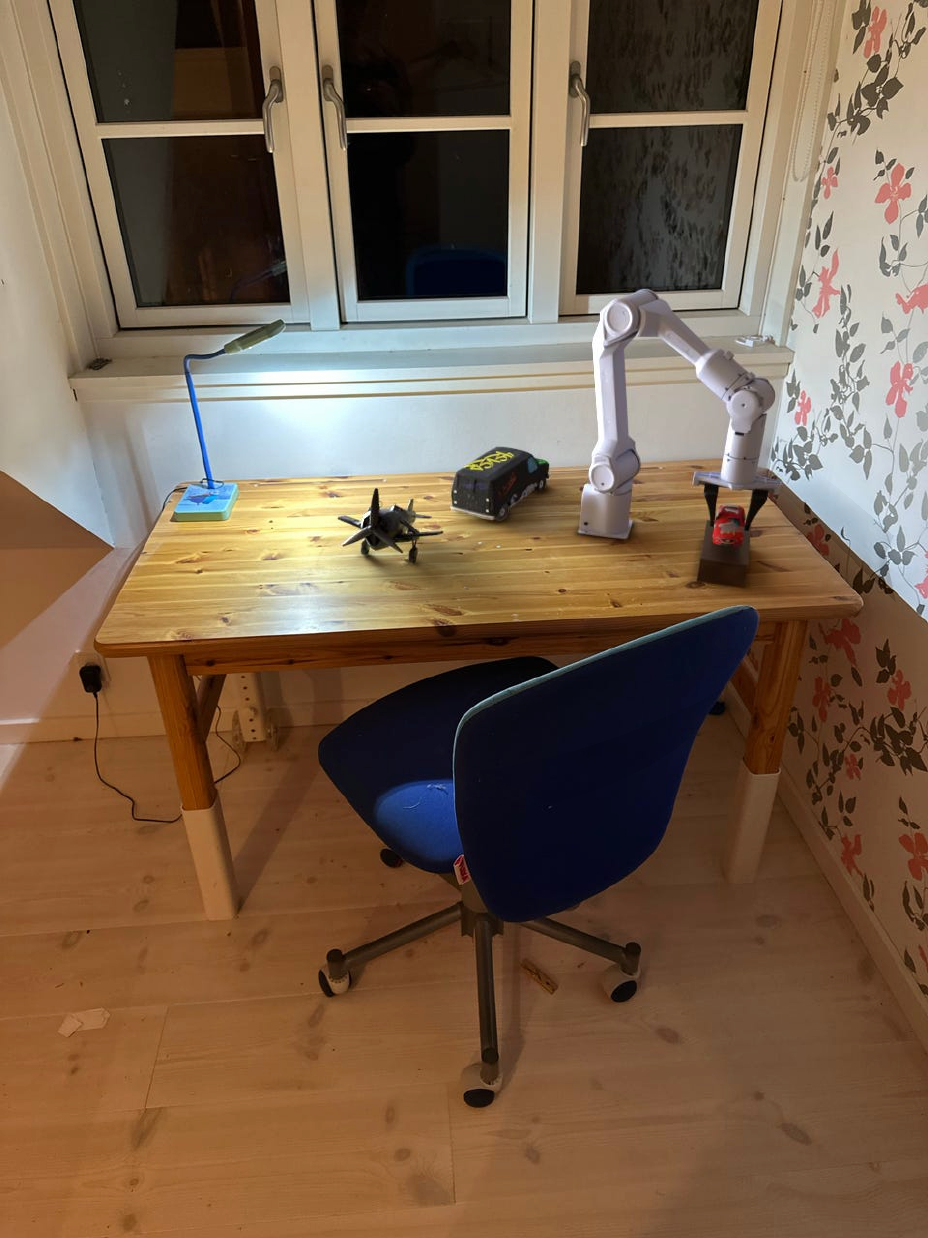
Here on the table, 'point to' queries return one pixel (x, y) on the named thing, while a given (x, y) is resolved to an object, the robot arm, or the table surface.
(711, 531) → the step block
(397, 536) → the airplane toy
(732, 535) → the race car
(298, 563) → the table surface
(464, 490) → the toy van
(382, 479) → the table surface
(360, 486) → the table surface
